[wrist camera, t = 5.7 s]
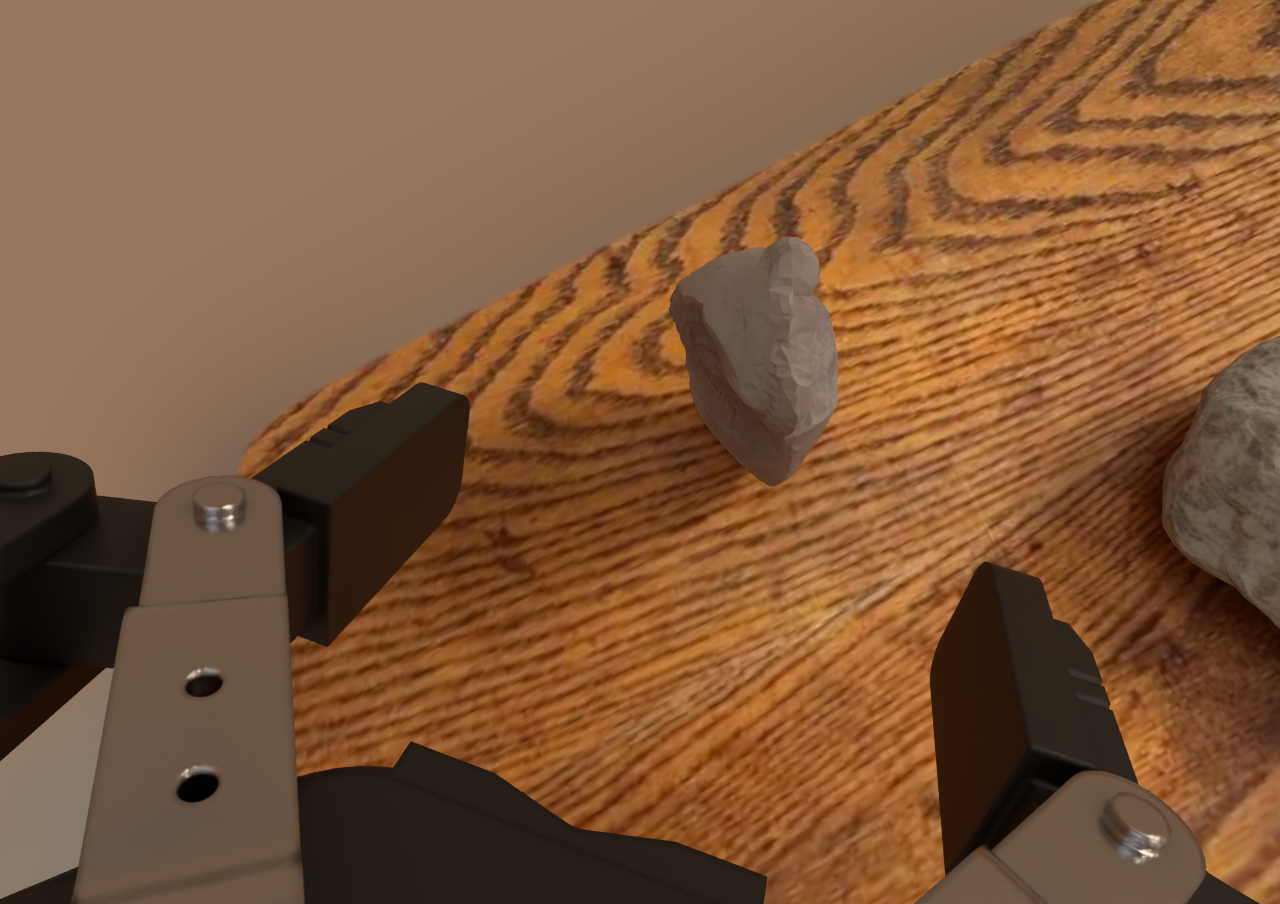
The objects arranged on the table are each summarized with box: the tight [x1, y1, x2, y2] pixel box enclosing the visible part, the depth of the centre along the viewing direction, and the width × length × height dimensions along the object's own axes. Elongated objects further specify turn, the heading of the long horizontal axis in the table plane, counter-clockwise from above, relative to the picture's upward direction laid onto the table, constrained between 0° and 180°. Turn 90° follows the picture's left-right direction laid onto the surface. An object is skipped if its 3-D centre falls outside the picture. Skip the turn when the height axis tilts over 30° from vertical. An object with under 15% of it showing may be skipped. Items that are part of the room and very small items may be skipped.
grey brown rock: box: [669, 237, 838, 486], centre depth 21 cm, size 6×4×10 cm, turn 26°
